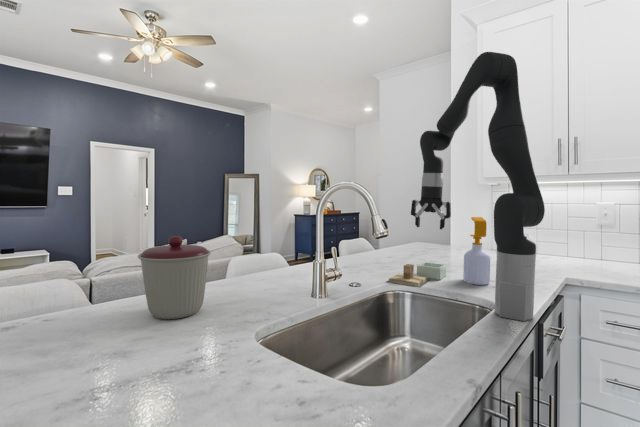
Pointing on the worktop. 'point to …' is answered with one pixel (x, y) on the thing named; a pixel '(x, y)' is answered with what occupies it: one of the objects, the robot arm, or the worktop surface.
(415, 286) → the mat
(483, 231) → the soap bottle
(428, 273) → the pale green open box
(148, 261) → the canister
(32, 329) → the worktop surface
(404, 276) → the lid
